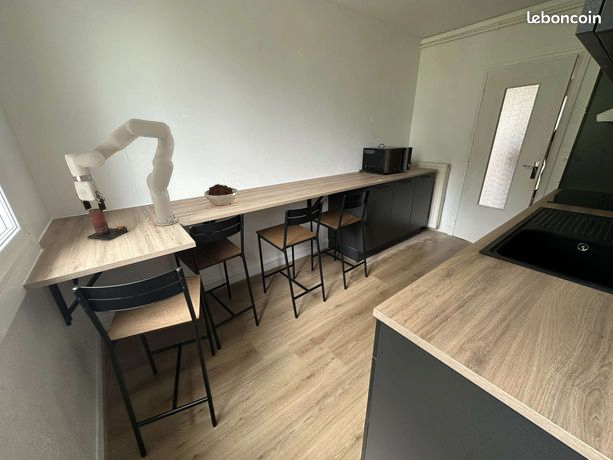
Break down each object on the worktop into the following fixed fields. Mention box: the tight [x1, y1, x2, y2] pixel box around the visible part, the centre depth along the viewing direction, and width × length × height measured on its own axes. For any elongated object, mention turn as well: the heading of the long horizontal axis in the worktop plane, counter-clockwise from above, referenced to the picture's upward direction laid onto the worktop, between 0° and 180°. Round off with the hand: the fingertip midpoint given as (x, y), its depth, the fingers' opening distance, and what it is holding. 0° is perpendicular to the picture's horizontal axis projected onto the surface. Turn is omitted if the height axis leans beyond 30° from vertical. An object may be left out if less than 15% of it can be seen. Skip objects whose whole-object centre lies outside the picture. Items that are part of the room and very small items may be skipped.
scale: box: [87, 225, 128, 241], centre depth 142 cm, size 15×13×3 cm
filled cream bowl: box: [203, 183, 239, 206], centre depth 192 cm, size 25×25×15 cm
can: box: [88, 207, 110, 235], centre depth 139 cm, size 6×6×14 cm
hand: (96, 209), depth 136 cm, fingers open, 9 cm apart
